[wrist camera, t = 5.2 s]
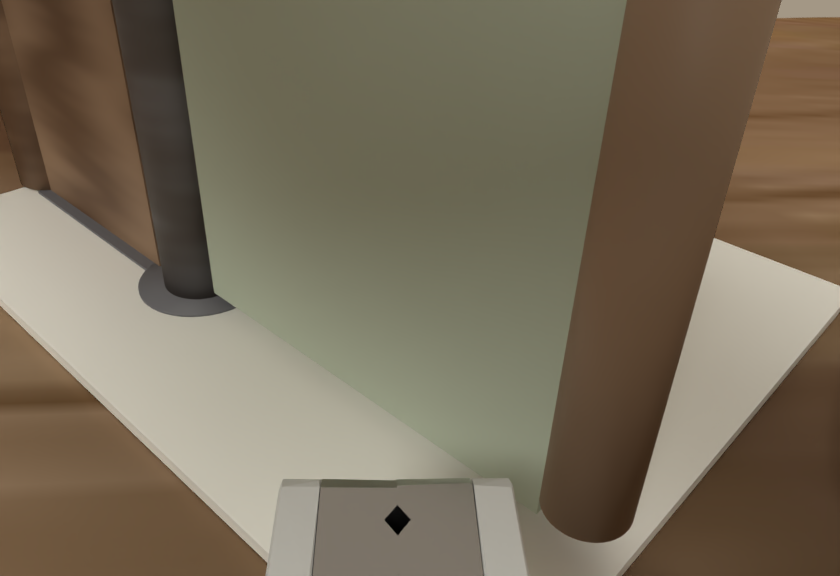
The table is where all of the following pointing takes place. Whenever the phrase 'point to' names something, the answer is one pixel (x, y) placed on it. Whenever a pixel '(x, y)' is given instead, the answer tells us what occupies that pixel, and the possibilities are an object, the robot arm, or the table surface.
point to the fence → (108, 124)
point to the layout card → (344, 406)
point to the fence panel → (479, 211)
